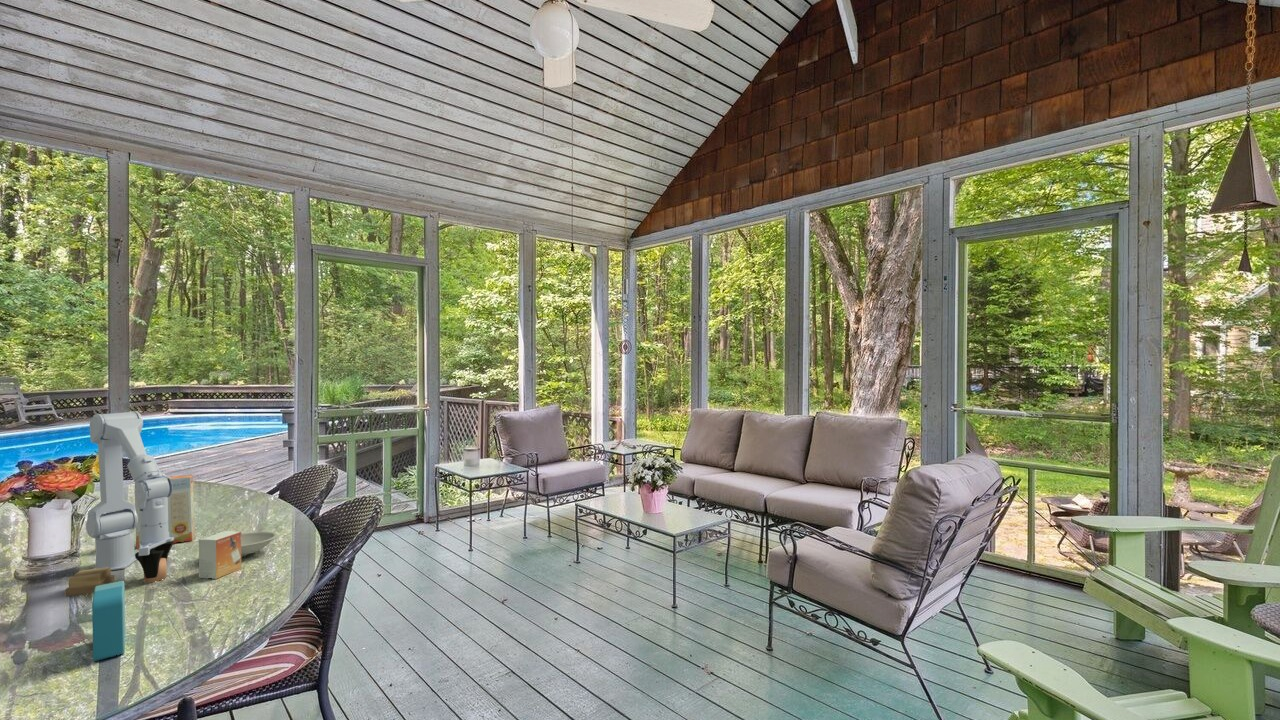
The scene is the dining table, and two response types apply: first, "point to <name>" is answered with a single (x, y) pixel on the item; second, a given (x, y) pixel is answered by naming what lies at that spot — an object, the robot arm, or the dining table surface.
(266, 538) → the dish
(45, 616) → the dining table surface
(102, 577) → the oak top block
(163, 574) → the terracotta cylinder
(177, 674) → the dining table surface
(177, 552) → the dining table surface
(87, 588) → the tan square slab
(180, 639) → the dining table surface
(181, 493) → the cracker box
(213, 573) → the small box
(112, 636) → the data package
